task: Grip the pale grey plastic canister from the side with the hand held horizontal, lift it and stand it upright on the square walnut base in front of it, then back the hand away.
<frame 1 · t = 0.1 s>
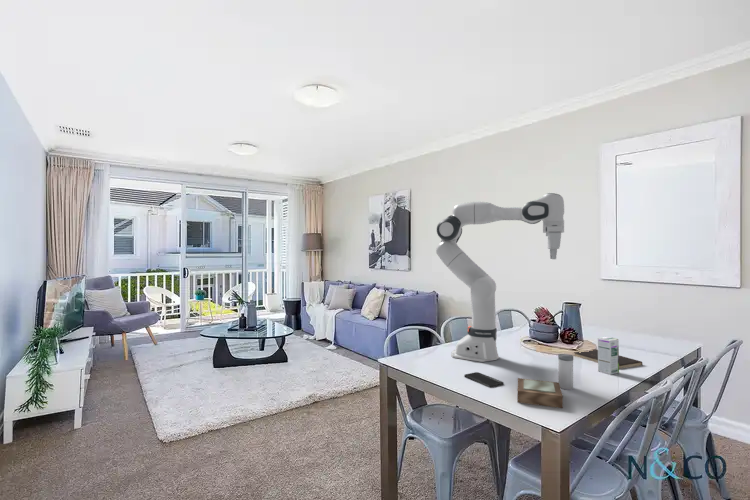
hand: (553, 259, 180), 48 cm above the table, tool pointing down, fingers open, 8 cm apart
canister: (565, 387, 149), on the table
syrup box: (608, 372, 168), on the table
walnut base: (538, 397, 139), on the table
hardcover book: (606, 361, 186), on the table
phone: (483, 381, 157), on the table
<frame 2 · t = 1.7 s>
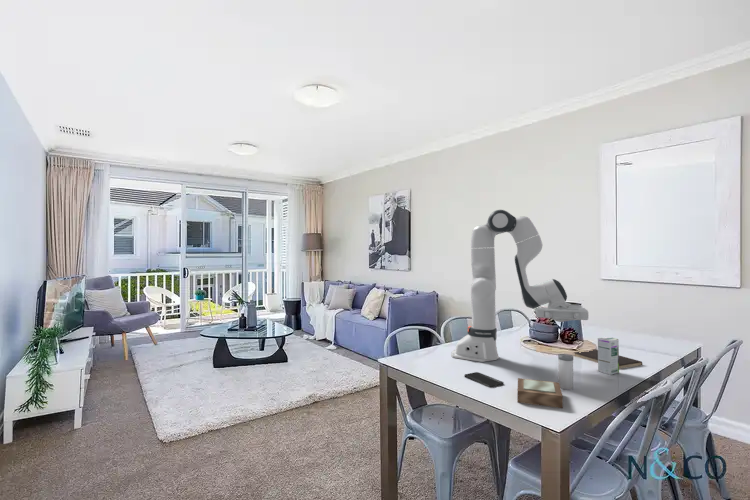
hand: (562, 316, 161), 25 cm above the table, tool horizontal, fingers open, 8 cm apart
nothing on the table moved.
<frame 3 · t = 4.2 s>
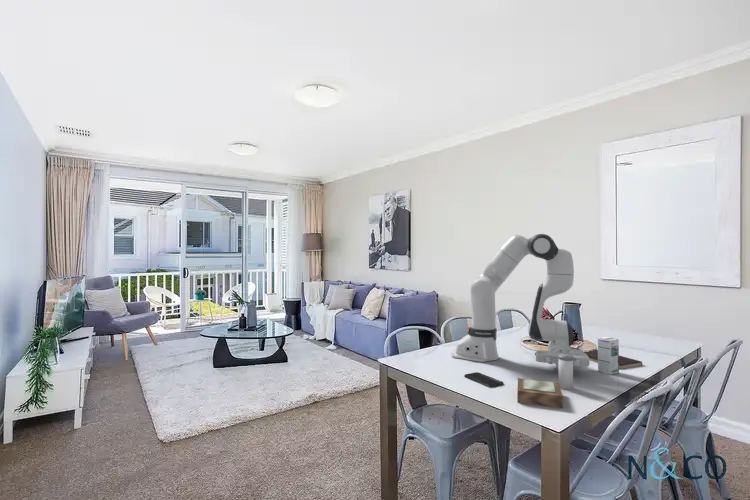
hand: (563, 363, 158), 7 cm above the table, tool horizontal, fingers open, 8 cm apart
nothing on the table moved.
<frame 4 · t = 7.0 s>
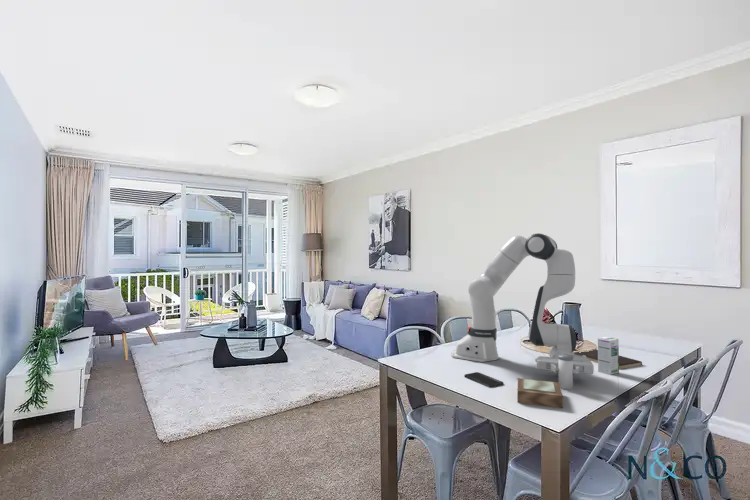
hand: (565, 370, 148), 7 cm above the table, tool horizontal, fingers closed on canister, 5 cm apart
canister: (565, 387, 149), on the table, touching gripper
everything else where it was.
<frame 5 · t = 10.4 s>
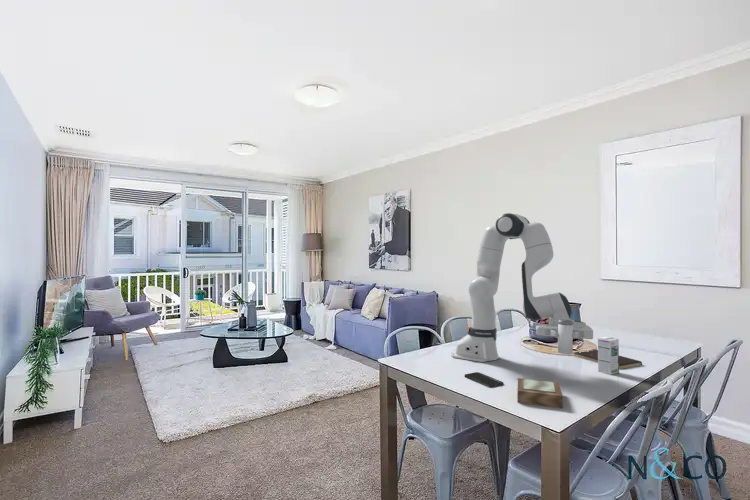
hand: (565, 335, 148), 20 cm above the table, tool horizontal, fingers closed on canister, 5 cm apart
canister: (565, 352, 149), point 13 cm above the table, touching gripper
everything else where it was.
when the fingers open (12 cm above the table, at t = 14.2 s): canister drops 1 cm, resting on walnut base.
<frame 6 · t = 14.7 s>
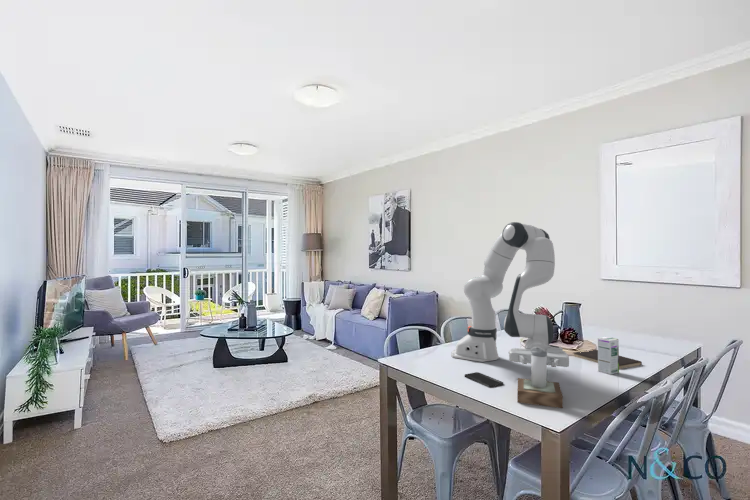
hand: (539, 363, 138), 12 cm above the table, tool horizontal, fingers open, 8 cm apart
canister: (538, 385, 139), point 4 cm above the table, touching walnut base
everything else where it was.
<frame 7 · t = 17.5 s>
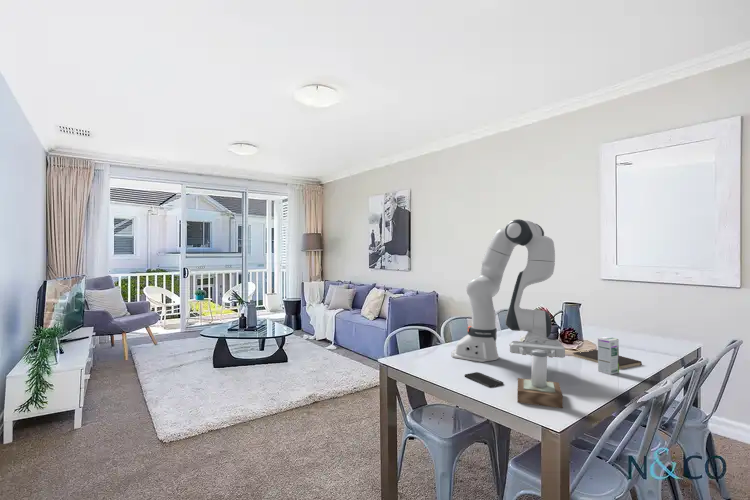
hand: (537, 354, 150), 12 cm above the table, tool horizontal, fingers open, 8 cm apart
nothing on the table moved.
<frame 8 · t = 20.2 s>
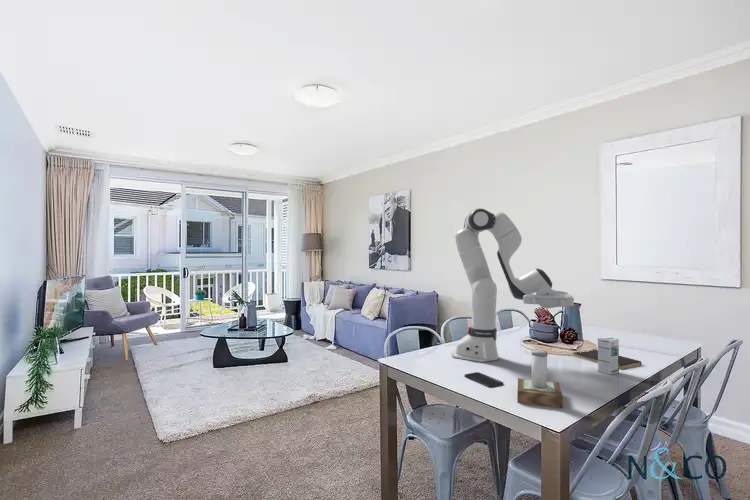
hand: (548, 302, 166), 30 cm above the table, tool horizontal, fingers open, 8 cm apart
nothing on the table moved.
at the end: canister inside the target area on the walnut base (0.0 cm from its centre), point 4.4 cm above the walnut base's base; canister tilted 1°; canister touching walnut base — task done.
